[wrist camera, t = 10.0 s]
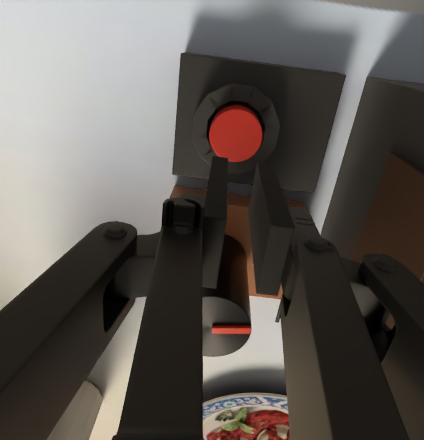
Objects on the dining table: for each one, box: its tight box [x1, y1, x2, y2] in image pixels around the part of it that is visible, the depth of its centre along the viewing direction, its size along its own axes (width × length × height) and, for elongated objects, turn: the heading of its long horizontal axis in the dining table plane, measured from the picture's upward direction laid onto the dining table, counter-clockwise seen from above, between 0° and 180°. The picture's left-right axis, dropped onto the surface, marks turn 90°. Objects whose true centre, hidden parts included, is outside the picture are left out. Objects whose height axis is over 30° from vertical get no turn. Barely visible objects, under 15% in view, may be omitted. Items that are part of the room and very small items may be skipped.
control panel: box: [170, 186, 309, 299], centre depth 36 cm, size 13×11×3 cm
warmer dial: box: [202, 234, 251, 357], centre depth 31 cm, size 6×6×10 cm
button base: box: [172, 53, 346, 192], centre depth 30 cm, size 13×10×4 cm
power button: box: [209, 105, 263, 162], centre depth 28 cm, size 4×4×2 cm
